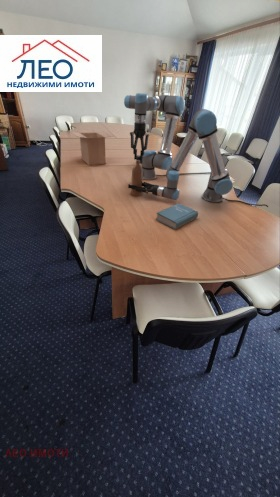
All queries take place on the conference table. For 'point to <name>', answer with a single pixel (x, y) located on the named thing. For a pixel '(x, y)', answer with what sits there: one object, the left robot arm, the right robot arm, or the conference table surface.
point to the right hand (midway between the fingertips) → (131, 184)
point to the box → (92, 146)
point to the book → (176, 215)
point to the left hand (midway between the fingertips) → (138, 159)
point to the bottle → (137, 178)
